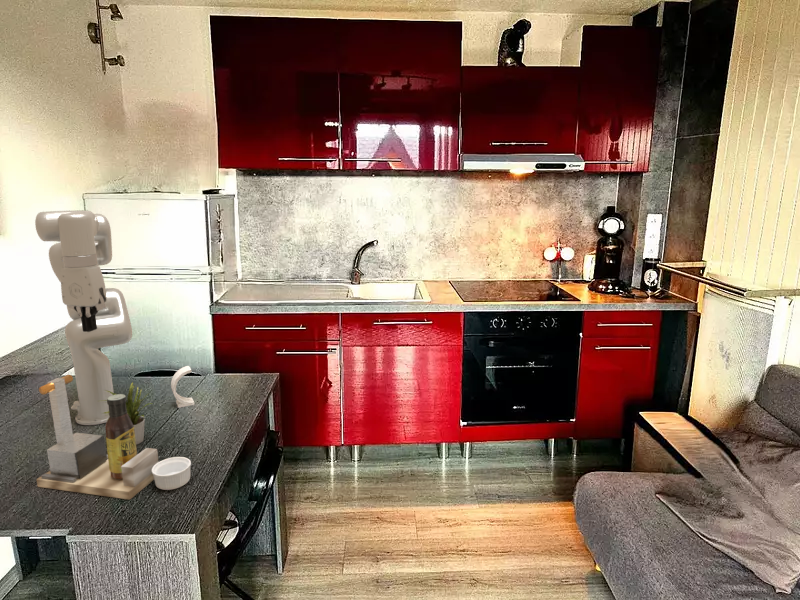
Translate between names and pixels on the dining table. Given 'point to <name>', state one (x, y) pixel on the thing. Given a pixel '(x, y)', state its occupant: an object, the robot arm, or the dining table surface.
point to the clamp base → (108, 478)
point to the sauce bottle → (119, 435)
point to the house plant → (134, 413)
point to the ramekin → (171, 473)
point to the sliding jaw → (70, 437)
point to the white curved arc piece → (180, 400)
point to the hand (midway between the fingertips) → (90, 330)
